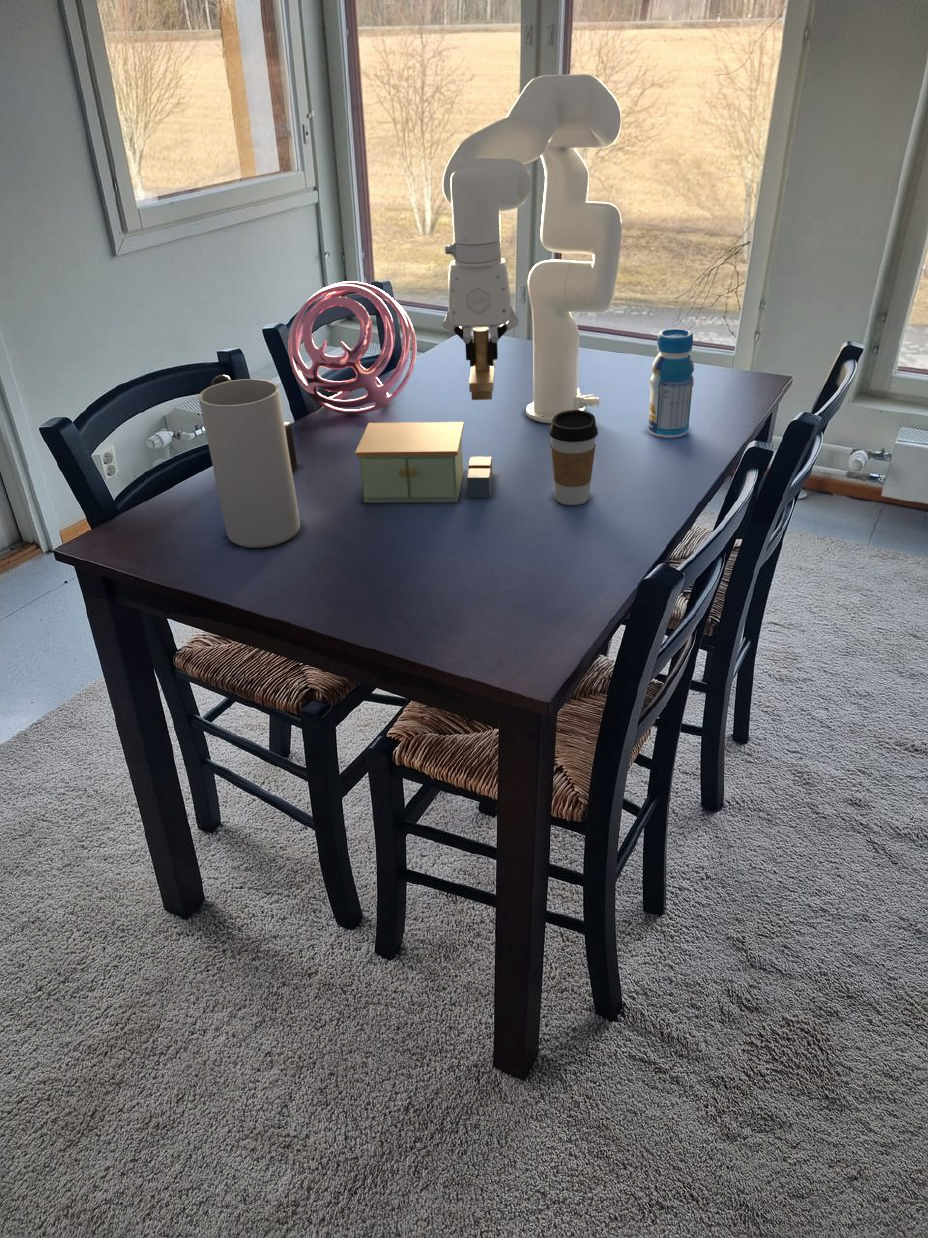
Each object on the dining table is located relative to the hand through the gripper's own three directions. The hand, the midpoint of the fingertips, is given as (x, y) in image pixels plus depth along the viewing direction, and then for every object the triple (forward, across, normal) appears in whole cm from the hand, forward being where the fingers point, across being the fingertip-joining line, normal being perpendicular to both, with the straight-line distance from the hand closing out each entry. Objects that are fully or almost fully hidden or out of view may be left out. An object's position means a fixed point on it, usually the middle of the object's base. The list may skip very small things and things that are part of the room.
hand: (482, 362), depth 161 cm
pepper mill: (+23, -46, +6) cm, 52 cm away
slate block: (+21, -3, -4) cm, 21 cm away
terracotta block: (+21, -3, +2) cm, 21 cm away
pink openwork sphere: (+24, -32, +41) cm, 57 cm away
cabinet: (+23, -13, -1) cm, 27 cm away
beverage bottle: (+24, +36, +25) cm, 50 cm away
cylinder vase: (+23, -37, -19) cm, 48 cm away
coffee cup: (+23, +16, -6) cm, 29 cm away
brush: (+4, 0, 0) cm, 4 cm away
